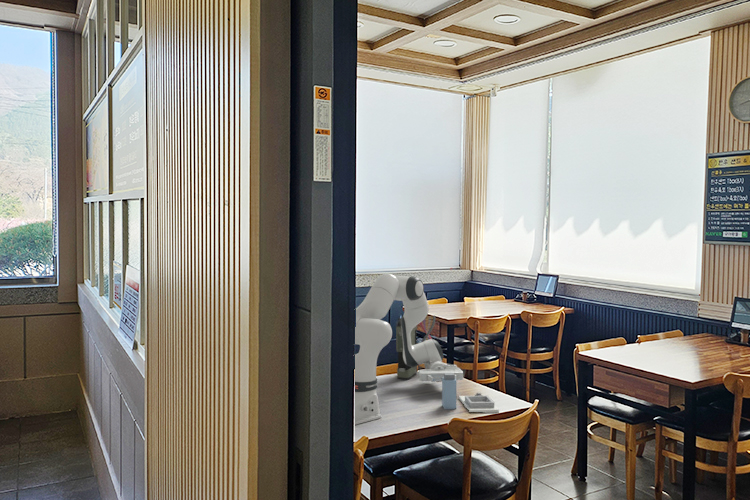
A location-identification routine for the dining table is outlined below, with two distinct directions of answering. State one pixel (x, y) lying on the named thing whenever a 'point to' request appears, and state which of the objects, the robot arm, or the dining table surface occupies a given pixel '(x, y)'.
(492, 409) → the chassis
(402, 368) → the device
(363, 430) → the dining table surface
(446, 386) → the blue-gray rectangular block
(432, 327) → the dna model
